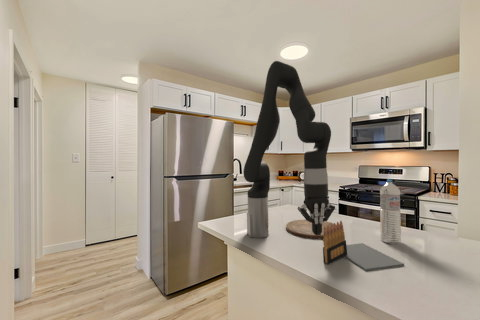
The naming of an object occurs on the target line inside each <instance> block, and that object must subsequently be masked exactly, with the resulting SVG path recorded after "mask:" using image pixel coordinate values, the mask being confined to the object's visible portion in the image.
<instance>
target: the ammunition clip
mask: <svg viewBox="0 0 480 320" xmlns="http://www.w3.org/2000/svg"><path fill="white" fill-rule="evenodd" d="M345 237H346V236H345V231H344V224H343V221H342V220H340V221H339V222H338V221H337V222H334V226H333V225H332V224H331V226H330V227H329V225H328V226H327V229H326V227H324V239H322V241H323V246H322V254H323V257H322V258H323V264H326V265H329V266H330V265H331V264H333V263H334V262H337V261H338V260H340V259H342V258H345V257H344V256H346V255H347V246H346V245H347V240H346V238H345Z"/></svg>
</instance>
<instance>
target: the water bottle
mask: <svg viewBox="0 0 480 320" xmlns="http://www.w3.org/2000/svg"><path fill="white" fill-rule="evenodd" d="M379 193H380V194H379V195H380V198H379V199H380V203H379V204H380V205H379V206H380V210H379V211H380V214H379V215H380V216H379V217H380V219H379V220H380V240H381V241H382V242H383V243H385V244H390V245H399V244H400V243H401V240H402V239H401V238H402V231H401V230H402V229H401V227H402V226H401V225H402V224H401V223H402V222H401V196H400V195H401V190H400V188H399V187H398V186H396V184H394V183H393V179H386V183H385V184H384V185H382V186H381V187H380V188H379Z"/></svg>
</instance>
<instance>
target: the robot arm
mask: <svg viewBox="0 0 480 320" xmlns="http://www.w3.org/2000/svg"><path fill="white" fill-rule="evenodd" d="M278 88H281V89H285V90H286V92H288V93H289V95H290V97H289V101H288V106H289V110H290V112H291V114H292V117H293V118H294V120H295V125H296V133H297V137H298V139H299V140H300V141H301V142H302V143H304V144H314V145H313V148H312V149H311V150H307V151H305V152H304V154H303V155H304V156H303V167H304V171H303V189H304V190H303V191H304V192H303V193H304V194H303V195H304V200H303V204H302V205H301V206H298V207H297V210H298V212H299V213H300V214H301V215H302V217H303V218H304V220H305V219H306V220H307V221H309V222H311V223H312V232H313V233H314V234H315V235H321V233H322V223H323V222H324V221H327V222H328V220H329V219H330V217H331V215H332V213H334V211H335V209H336V206H335V205H333V204H331V203H330V200H329V198H328V196H329V182H328V181H329V176H328V169H327V168H328V167H327V154H328V151H329V146H330V142H331V138H332V130H331V127H330V125H329V124H328V123H327V122H325V121H314V120H315V118H316V111H315V109H314V107H313V106H312V104H311V103H310V100H309V99H308V97H307V96H306V94H305V91H304V89H303V86H302V82H301V80H300V77H299V74H298V71H297V69H296V68H295V67H294V66H293V65H291V64H288V63H285V62H283V61H279V60H275V61H273V62H272V63H271V65H270V66H269V68H268V71H267V75H266V79H265V86H264V91H263V92H264V93H263V98H262V103H261V106H260V112H259V115H258V119H257V122H256V126H255V131H254V134H253V135H254V136H253V137H252V138H253V139H252V141H251V146H250V149H249V152H248V155H247V158H246V159H245V160H246V161H245V163H244V165H243V166H244V168H243V173H242V174H243V178H244V180H245V181H246V182H248V183H252V186H251V187H250V189H248V191H247V213H246V231H247V232H246V233H247V235H248V236H249V237H250V238H256V239H257V238H258V239H260V238H266V237H268V236H269V235H270V234H269V231H270V230H269V192H270V184H271V183H270V181H271V170H270V167H269V165H268V163H267V162H266V161H263V158H264V155H265V152H266V151H267V150H268V148H269V147H270V146H271V144H272V143H273V141H274V140H275V138H276V136H277V133H278V129H279V126H280V121H281V120H280V113H279V108H278V106H277V105H278V103H277V92H278ZM307 211H309V212H307Z"/></svg>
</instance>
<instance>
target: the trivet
mask: <svg viewBox="0 0 480 320" xmlns="http://www.w3.org/2000/svg"><path fill="white" fill-rule="evenodd" d="M334 223H335V222H334ZM334 223H333V222H330V221H328V220H327V221H324V222H323V223H322V233H321V235H315V234H314V233H313V232H312V223H311V222H309V221H307V220H306V219H305V218H304V219H297V220H296V219H295V220H292V221H291V220H290V221H289V222H287V223H285V229H286V231H287V232H288V234H289V233H290V234H291V235H294V236H297V237H300V238H301V237H302V238H304V239H305V238H306V239H313V240H314V239H315V240H323V239H324V227H326V229H327V226H328V225H329V227H330V226H331V224H332V225H333V226H334Z"/></svg>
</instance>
